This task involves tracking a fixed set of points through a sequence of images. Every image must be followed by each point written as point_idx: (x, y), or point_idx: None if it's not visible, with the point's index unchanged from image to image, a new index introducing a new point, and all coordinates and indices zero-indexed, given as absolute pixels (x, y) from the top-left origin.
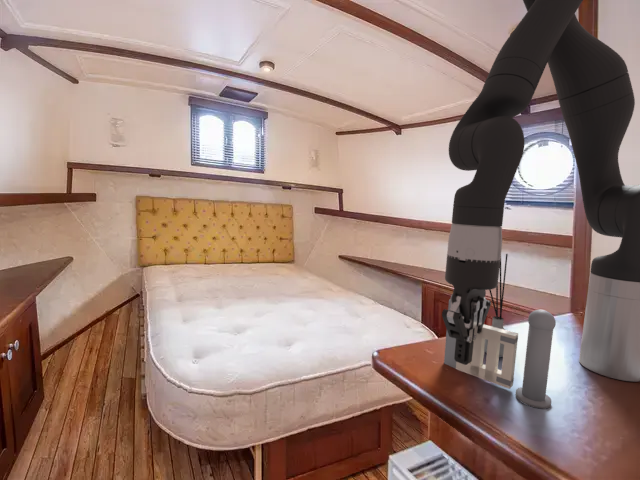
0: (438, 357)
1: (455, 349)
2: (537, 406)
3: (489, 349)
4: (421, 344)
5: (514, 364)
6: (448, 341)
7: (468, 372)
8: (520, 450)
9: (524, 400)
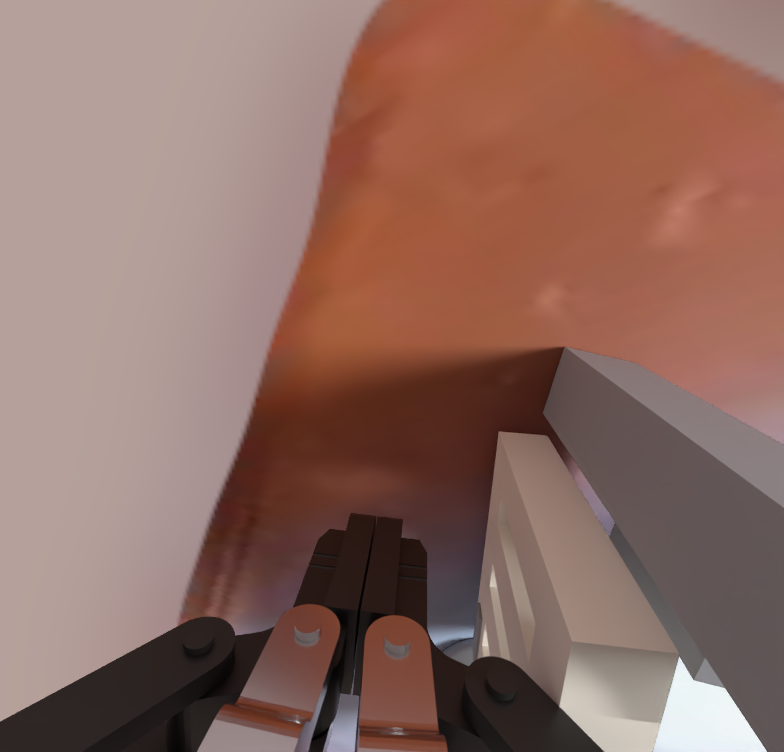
0: (624, 294)
1: (340, 551)
2: None
3: None
4: (769, 120)
5: None
6: (607, 404)
7: (493, 491)
8: None
9: None
